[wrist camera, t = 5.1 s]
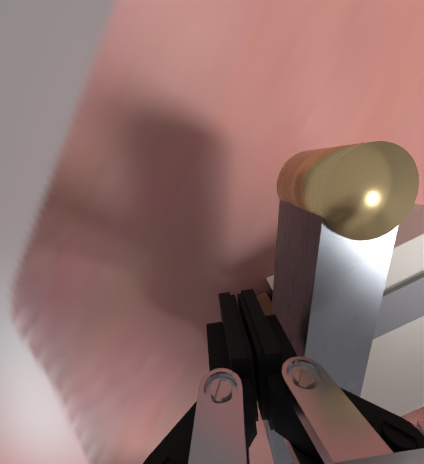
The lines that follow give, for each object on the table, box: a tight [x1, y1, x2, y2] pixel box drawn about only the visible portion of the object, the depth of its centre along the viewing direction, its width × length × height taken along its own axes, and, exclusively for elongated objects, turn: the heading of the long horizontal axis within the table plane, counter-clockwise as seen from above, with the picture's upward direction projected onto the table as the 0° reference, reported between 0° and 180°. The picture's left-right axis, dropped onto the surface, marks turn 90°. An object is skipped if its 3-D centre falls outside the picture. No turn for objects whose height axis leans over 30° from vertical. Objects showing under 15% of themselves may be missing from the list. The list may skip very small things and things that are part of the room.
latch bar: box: [263, 141, 419, 464], centre depth 11 cm, size 16×4×4 cm, turn 0°
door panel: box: [266, 204, 424, 417], centre depth 18 cm, size 12×14×4 cm
